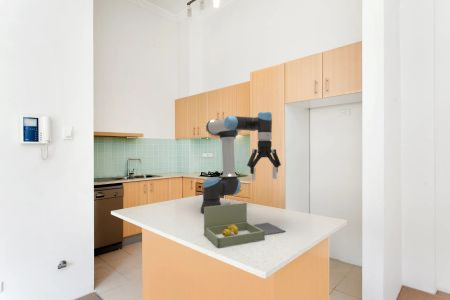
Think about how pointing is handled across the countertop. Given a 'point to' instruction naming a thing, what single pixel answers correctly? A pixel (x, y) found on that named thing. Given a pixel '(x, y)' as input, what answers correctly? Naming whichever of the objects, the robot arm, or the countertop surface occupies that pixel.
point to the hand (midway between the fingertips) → (264, 179)
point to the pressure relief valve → (230, 231)
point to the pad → (269, 228)
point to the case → (227, 216)
